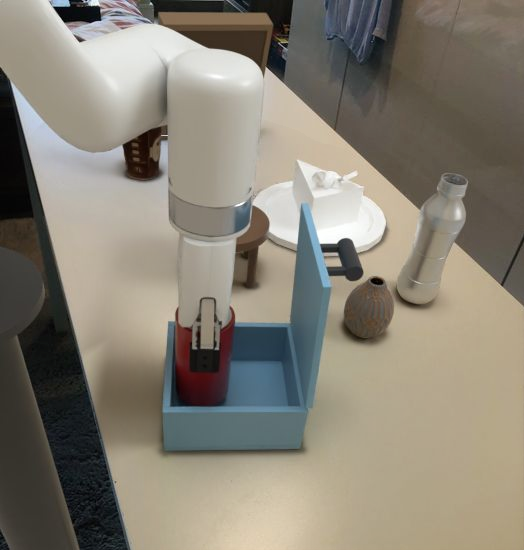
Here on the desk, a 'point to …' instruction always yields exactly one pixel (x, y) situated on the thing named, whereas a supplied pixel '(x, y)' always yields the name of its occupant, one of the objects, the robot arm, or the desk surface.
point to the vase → (369, 308)
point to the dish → (322, 209)
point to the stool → (253, 242)
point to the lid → (315, 296)
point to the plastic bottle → (433, 240)
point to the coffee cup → (143, 155)
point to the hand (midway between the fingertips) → (204, 346)
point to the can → (202, 385)
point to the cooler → (242, 396)
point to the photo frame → (223, 34)
